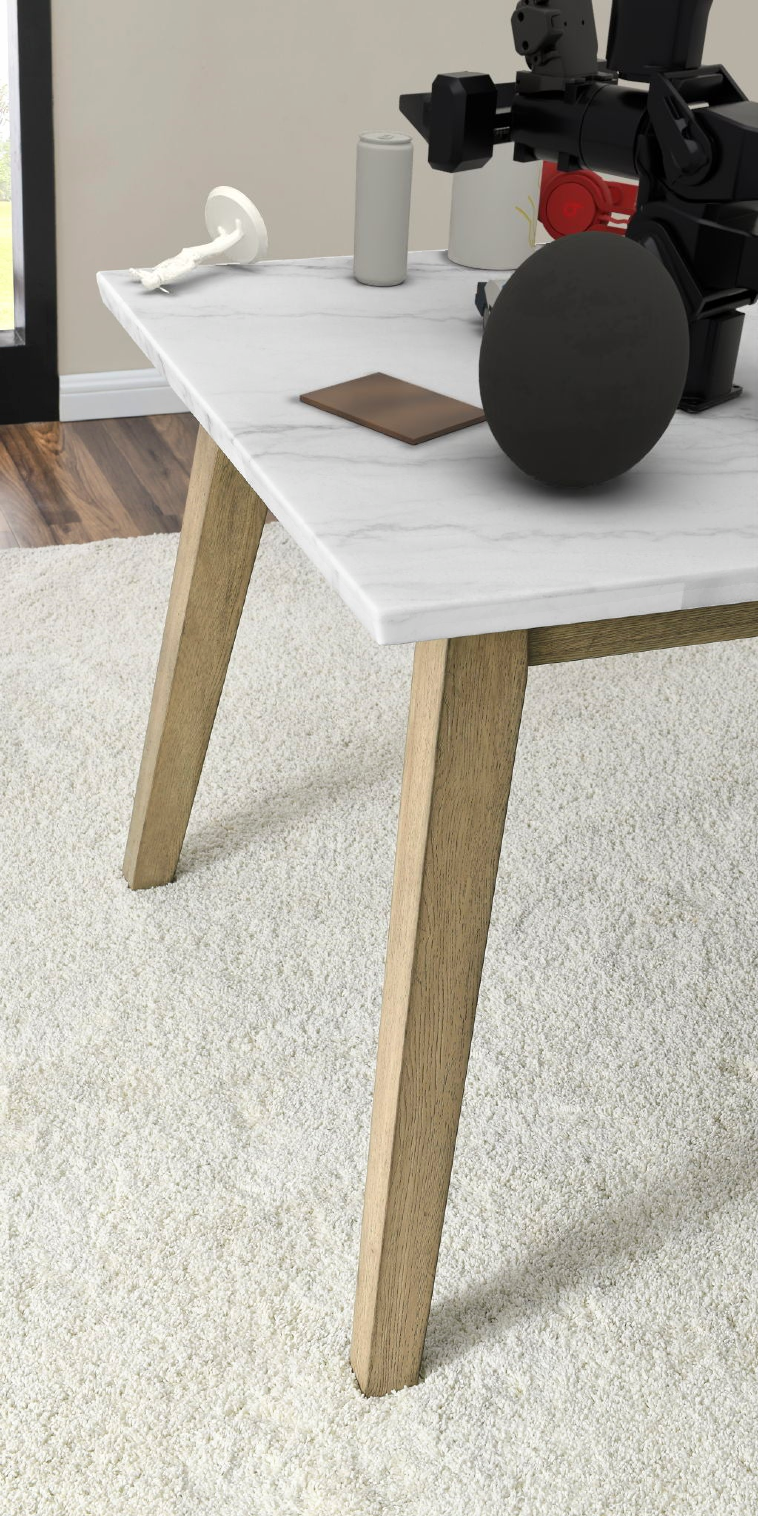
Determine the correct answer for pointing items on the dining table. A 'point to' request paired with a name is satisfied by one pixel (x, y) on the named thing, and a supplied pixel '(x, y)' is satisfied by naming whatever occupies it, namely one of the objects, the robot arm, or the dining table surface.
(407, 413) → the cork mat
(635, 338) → the decorative egg
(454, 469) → the dining table surface
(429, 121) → the robot arm
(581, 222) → the headphones
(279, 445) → the dining table surface
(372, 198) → the beverage can
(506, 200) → the cup
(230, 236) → the figurine
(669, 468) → the dining table surface
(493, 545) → the dining table surface
